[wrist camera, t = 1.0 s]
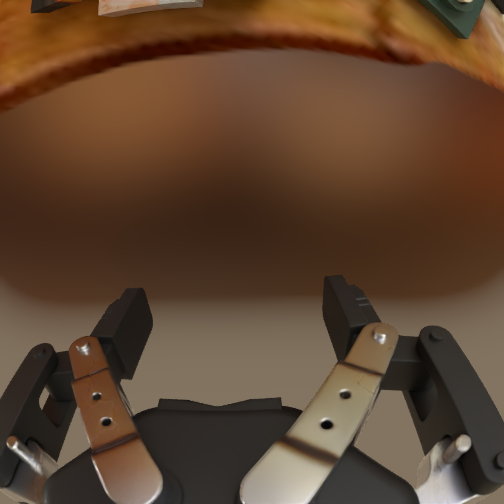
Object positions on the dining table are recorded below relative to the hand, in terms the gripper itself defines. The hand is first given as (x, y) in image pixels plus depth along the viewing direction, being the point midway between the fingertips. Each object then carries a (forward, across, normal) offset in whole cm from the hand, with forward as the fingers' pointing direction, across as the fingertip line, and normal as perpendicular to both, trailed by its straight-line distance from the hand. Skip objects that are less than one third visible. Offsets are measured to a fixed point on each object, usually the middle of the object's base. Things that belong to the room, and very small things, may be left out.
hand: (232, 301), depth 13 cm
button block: (+22, -30, -30) cm, 48 cm away
